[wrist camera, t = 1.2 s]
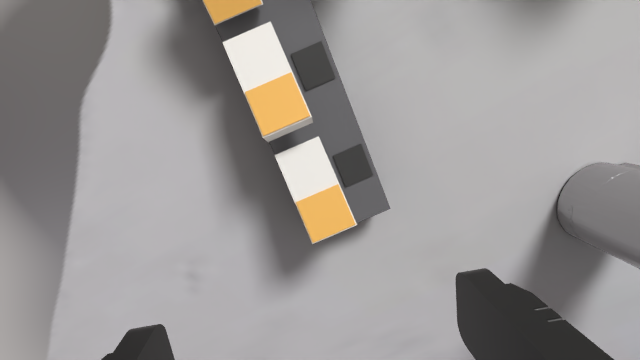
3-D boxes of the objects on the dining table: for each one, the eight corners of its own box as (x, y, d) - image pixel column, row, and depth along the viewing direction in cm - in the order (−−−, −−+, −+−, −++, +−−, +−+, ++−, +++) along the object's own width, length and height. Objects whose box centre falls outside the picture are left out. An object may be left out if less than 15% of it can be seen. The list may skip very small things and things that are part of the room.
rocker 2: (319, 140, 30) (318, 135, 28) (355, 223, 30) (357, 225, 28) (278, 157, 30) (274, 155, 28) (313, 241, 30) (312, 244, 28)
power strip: (260, -109, 29) (255, -153, 24) (379, 196, 37) (394, 213, 32) (175, -71, 29) (151, -107, 24) (311, 225, 37) (316, 247, 32)
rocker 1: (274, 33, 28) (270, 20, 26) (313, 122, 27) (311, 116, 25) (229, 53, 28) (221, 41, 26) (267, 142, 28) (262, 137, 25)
